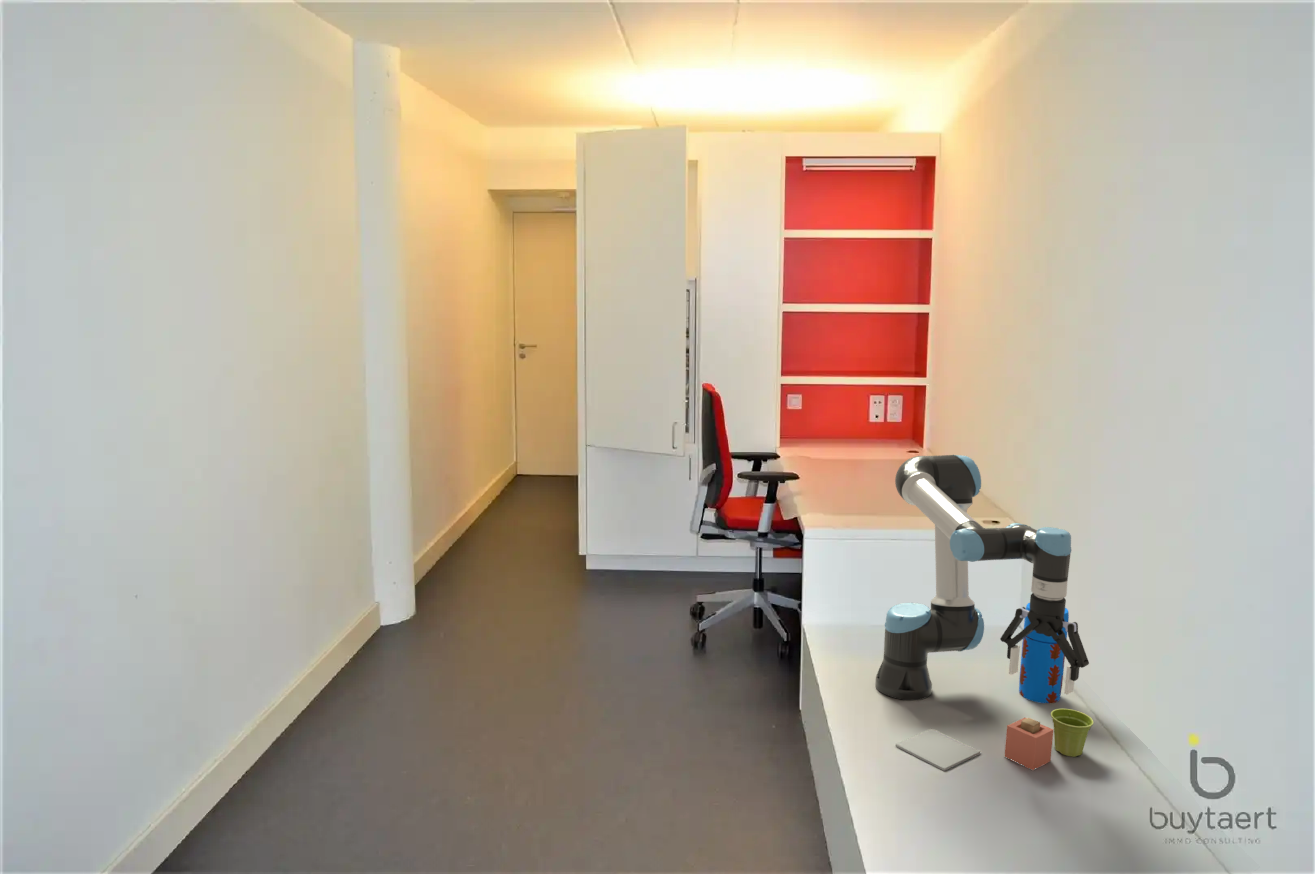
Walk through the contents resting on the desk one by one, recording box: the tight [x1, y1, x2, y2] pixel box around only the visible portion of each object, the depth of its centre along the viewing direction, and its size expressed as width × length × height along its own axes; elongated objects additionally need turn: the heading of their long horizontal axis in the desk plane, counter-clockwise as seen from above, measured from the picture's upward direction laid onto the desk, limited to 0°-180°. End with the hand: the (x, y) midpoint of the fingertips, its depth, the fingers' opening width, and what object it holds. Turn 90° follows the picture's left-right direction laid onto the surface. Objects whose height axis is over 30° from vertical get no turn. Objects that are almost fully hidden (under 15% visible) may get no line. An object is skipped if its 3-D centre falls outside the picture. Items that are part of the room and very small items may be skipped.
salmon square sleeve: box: [1004, 717, 1054, 771], centre depth 218 cm, size 7×7×8 cm
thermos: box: [1018, 602, 1070, 704], centre depth 251 cm, size 11×11×25 cm
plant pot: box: [1050, 708, 1094, 758], centre depth 222 cm, size 9×9×9 cm
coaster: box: [895, 728, 981, 772], centre depth 222 cm, size 14×14×1 cm
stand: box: [1021, 717, 1041, 734], centre depth 218 cm, size 4×4×10 cm
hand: (1040, 682), depth 216 cm, fingers open, 13 cm apart
